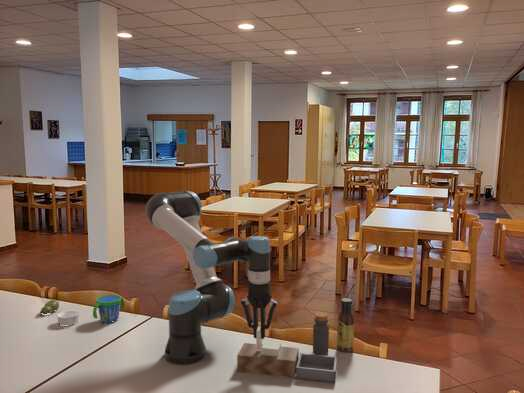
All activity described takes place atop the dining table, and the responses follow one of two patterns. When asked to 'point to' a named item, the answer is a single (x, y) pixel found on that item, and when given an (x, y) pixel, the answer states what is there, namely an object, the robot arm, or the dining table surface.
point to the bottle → (320, 334)
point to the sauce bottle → (345, 327)
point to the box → (316, 368)
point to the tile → (271, 348)
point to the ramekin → (68, 317)
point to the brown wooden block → (267, 361)
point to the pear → (50, 307)
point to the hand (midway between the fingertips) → (259, 347)
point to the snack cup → (108, 307)
